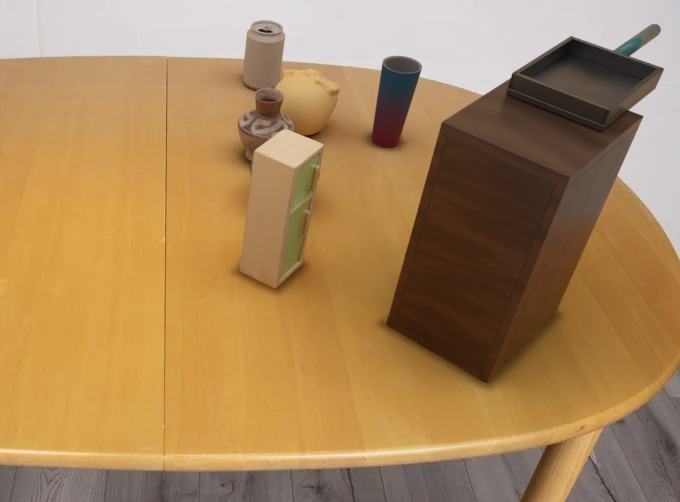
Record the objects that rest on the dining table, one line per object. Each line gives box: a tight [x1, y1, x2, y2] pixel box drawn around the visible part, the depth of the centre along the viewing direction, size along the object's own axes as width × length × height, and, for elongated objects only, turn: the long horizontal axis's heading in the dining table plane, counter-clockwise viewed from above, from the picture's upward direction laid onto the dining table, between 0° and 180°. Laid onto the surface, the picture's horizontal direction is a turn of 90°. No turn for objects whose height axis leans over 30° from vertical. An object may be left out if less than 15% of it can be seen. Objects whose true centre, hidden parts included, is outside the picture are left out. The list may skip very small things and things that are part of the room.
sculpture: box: [274, 68, 341, 136], centre depth 160 cm, size 12×12×11 cm
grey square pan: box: [506, 23, 665, 132], centre depth 112 cm, size 30×12×3 cm, turn 136°
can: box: [241, 19, 286, 91], centre depth 172 cm, size 8×8×12 cm
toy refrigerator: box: [239, 129, 325, 289], centre depth 125 cm, size 8×7×21 cm
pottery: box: [237, 87, 321, 180], centre depth 146 cm, size 11×25×12 cm, turn 9°
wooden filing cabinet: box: [385, 77, 644, 384], centre depth 114 cm, size 20×16×32 cm
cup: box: [370, 55, 423, 149], centre depth 156 cm, size 7×7×15 cm
